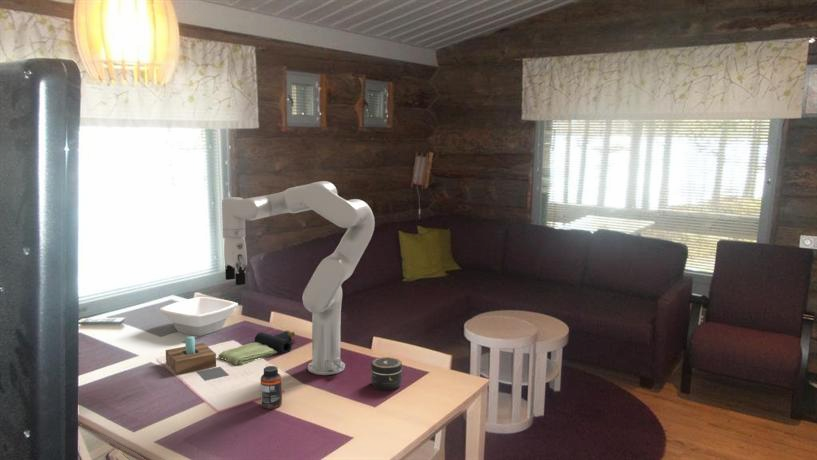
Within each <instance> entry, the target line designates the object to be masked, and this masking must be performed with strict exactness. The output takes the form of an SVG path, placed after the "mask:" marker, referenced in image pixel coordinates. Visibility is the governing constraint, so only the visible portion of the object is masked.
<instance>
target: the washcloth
mask: <svg viewBox="0 0 817 460" xmlns="http://www.w3.org/2000/svg"><path fill="white" fill-rule="evenodd" d="M276 354H278V352H277V351H276V350H274V349H272V348H270V347H268V346H267V345H262V344H261V343H258V342H255V341H254V342H251V343H246V344H243V345H240V346H238V347H234V348H230V349H226V350H223V351H222V352H220V353H219V354H218V358H219V357H220V358H223V359H226V360H228V361H229V363H231V362H232V363H233V365H235V366H243V365H247V364H248V362H249V363H251V362H254V361H253V360H255V359H257V360H259V359H258V358H260V359H263V358H268V357H272V356H274V355H276ZM220 358H219V359H220ZM228 361H227V362H228ZM255 361H256V360H255ZM232 363H231V364H232Z"/></svg>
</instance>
